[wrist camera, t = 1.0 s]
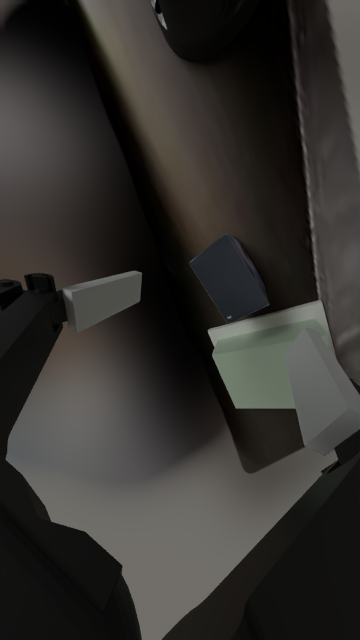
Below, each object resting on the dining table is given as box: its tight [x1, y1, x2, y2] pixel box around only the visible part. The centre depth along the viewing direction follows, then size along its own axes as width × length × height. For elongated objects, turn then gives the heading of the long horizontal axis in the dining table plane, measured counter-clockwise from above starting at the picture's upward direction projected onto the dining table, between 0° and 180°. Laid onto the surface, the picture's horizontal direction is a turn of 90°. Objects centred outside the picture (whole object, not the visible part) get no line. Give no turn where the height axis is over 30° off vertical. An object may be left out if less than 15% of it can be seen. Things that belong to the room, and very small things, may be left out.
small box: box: [189, 233, 269, 324], centre depth 26 cm, size 11×6×10 cm, turn 37°
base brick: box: [212, 319, 331, 408], centre depth 31 cm, size 13×17×6 cm
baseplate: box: [208, 300, 337, 360], centre depth 34 cm, size 18×20×1 cm
